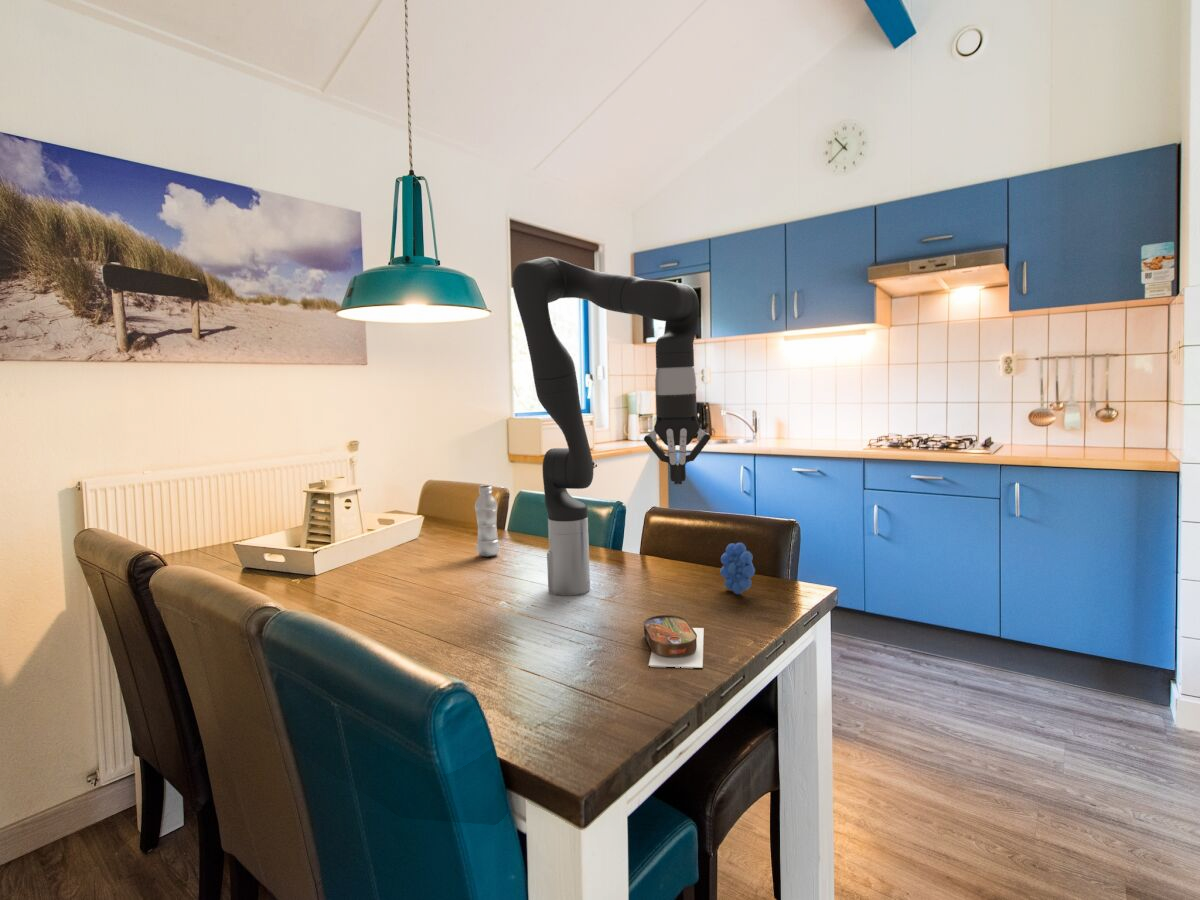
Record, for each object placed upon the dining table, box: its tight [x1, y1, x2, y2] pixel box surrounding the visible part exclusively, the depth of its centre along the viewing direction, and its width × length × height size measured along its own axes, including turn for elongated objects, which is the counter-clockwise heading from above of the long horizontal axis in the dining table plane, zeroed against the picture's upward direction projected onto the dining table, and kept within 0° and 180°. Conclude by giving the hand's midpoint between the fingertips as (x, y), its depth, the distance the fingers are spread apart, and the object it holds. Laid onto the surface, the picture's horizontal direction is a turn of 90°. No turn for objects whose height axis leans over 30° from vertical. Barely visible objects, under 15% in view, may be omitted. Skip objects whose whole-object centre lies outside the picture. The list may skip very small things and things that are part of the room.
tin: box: [643, 614, 697, 657], centre depth 123 cm, size 15×3×8 cm
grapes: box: [719, 542, 756, 595], centre depth 151 cm, size 12×7×12 cm, turn 23°
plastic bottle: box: [474, 485, 501, 557], centre depth 191 cm, size 6×7×20 cm
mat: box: [648, 627, 705, 669], centre depth 122 cm, size 9×18×1 cm, turn 171°
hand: (678, 483), depth 128 cm, fingers closed
